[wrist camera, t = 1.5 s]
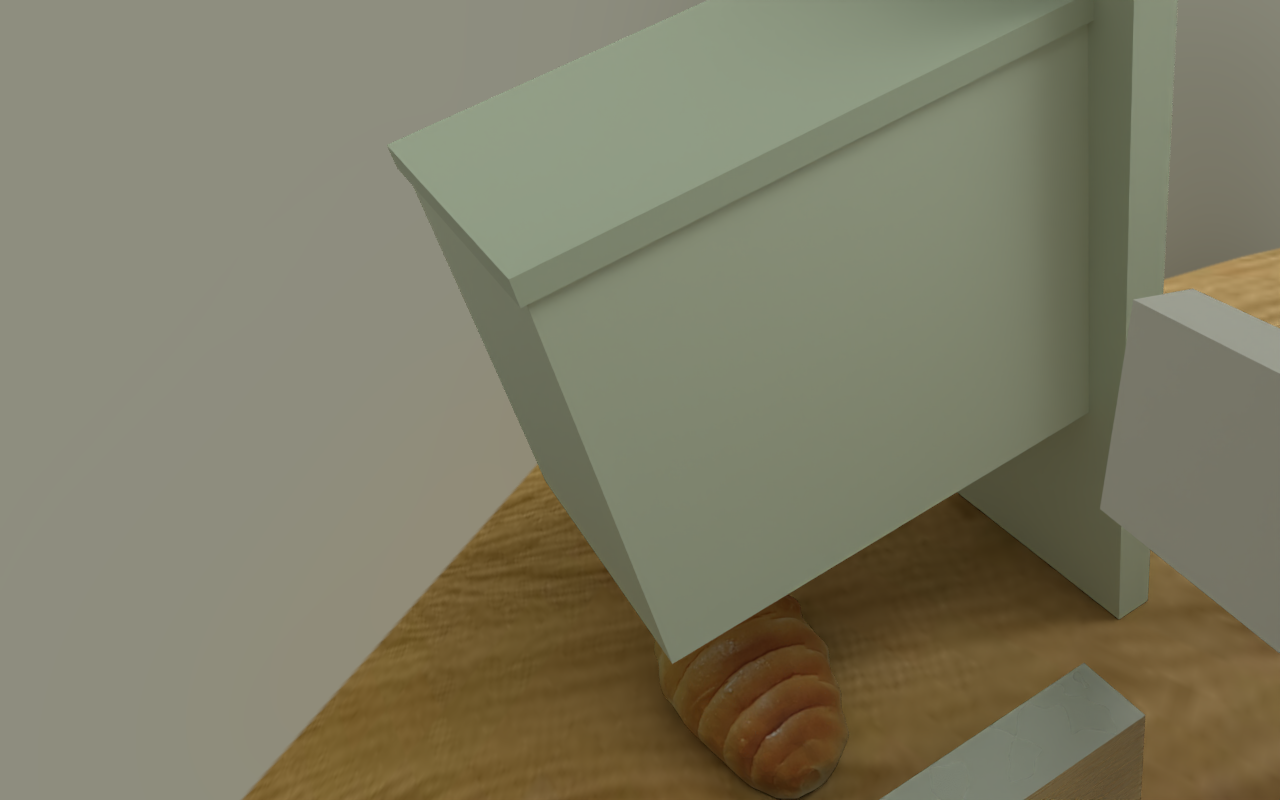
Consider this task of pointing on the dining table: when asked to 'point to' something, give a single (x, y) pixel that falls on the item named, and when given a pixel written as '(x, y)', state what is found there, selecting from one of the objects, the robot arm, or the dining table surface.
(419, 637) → the dining table surface
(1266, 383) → the robot arm
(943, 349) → the green cabinet
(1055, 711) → the l-shaped try square
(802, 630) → the pastry
